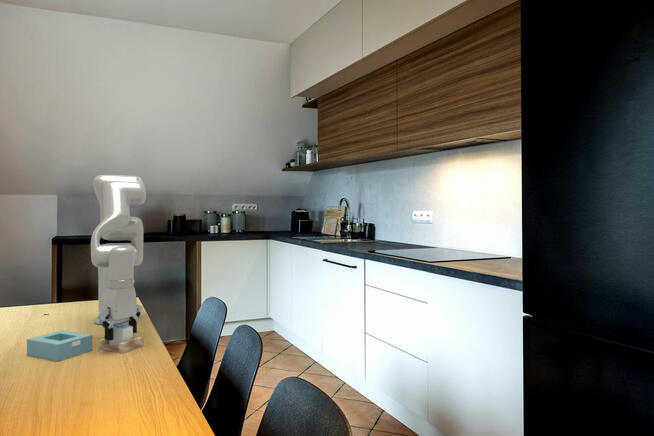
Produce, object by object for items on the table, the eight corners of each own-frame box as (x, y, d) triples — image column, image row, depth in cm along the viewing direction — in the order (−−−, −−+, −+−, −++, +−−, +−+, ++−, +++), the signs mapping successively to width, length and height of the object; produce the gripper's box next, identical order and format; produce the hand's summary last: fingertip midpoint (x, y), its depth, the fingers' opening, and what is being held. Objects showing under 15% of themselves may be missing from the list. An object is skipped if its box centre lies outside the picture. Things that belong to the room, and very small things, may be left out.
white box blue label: (119, 345, 156) (119, 322, 156) (132, 347, 154) (132, 324, 154) (109, 348, 153) (109, 325, 153) (123, 350, 150) (123, 327, 150)
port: (62, 345, 156) (62, 330, 156) (92, 350, 150) (92, 335, 150) (26, 355, 145) (26, 339, 145) (58, 361, 139) (58, 344, 139)
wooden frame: (120, 342, 159) (120, 333, 159) (143, 345, 156) (143, 337, 155) (98, 349, 151) (98, 340, 151) (121, 353, 147) (121, 344, 147)
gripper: (133, 280, 162) (132, 328, 163) (90, 287, 147) (90, 341, 147) (149, 281, 159) (149, 331, 160) (107, 289, 144) (107, 344, 144)
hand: (121, 336), depth 153 cm, fingers open, 9 cm apart
